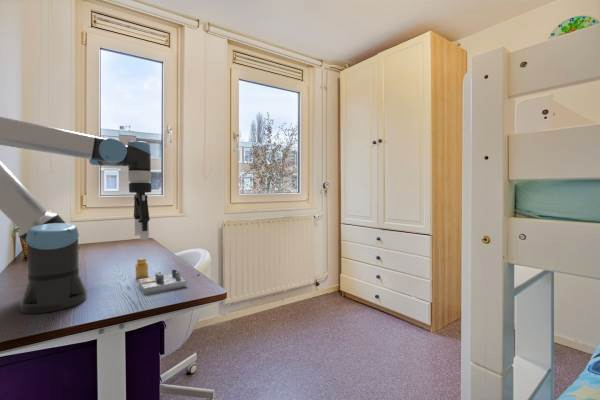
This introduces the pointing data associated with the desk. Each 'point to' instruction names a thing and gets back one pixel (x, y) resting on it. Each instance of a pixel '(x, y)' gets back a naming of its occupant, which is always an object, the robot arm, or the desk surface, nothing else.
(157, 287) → the junction plate
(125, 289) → the desk surface
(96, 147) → the robot arm
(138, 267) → the beige block
